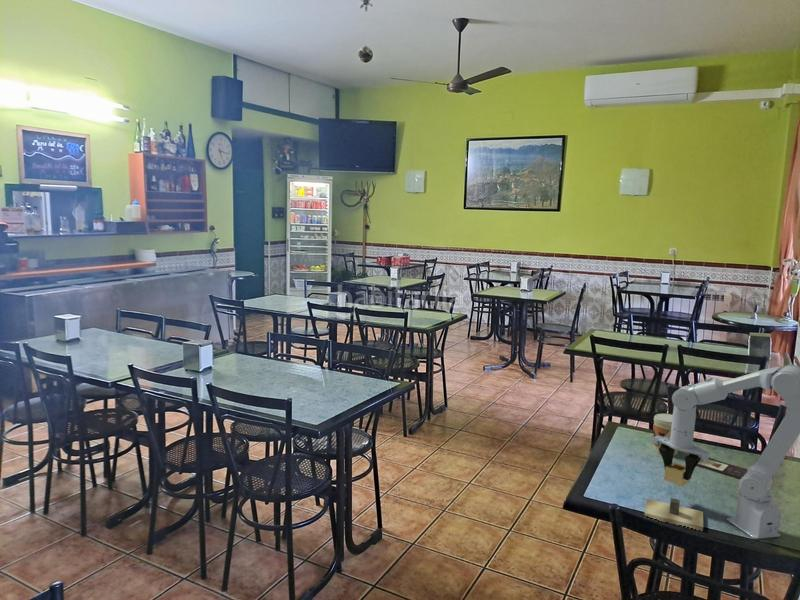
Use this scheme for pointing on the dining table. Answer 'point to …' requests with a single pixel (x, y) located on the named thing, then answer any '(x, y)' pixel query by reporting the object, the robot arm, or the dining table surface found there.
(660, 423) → the coffee cup
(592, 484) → the dining table surface
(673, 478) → the collar
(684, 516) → the post stand
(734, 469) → the chocolate bar
